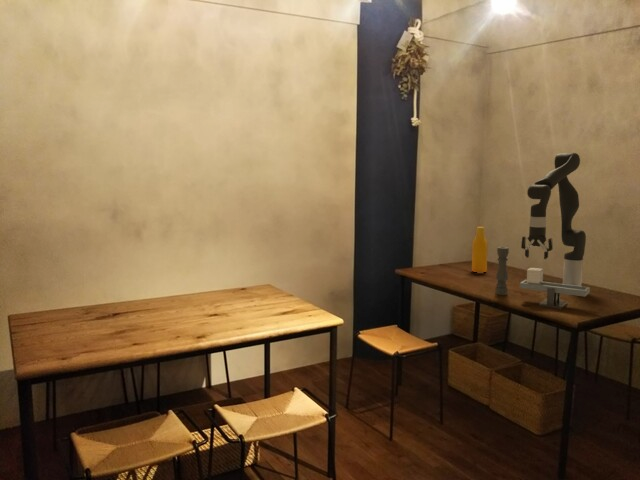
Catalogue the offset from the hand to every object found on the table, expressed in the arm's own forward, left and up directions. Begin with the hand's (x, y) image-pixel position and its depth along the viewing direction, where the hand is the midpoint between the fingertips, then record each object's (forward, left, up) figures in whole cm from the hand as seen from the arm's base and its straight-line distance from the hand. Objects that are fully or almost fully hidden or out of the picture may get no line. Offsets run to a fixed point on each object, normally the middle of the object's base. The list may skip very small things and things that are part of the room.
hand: (536, 258), depth 262 cm
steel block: (0, 0, -14) cm, 14 cm away
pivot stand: (0, +9, -22) cm, 24 cm away
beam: (0, +9, -15) cm, 18 cm away
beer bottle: (-55, -50, -23) cm, 78 cm away
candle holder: (-7, -19, -23) cm, 30 cm away
